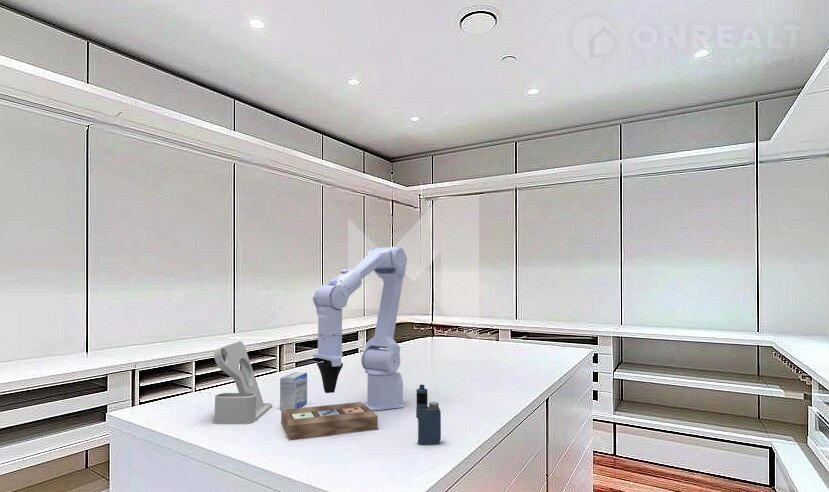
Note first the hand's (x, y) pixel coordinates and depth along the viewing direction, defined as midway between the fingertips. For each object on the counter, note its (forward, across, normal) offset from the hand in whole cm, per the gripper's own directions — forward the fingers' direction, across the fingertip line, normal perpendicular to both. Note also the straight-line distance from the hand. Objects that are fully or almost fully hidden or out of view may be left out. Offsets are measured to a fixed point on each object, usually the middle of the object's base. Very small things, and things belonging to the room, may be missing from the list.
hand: (329, 392), depth 113 cm
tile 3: (+7, +1, 0) cm, 7 cm away
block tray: (+8, +1, 0) cm, 8 cm away
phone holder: (+8, -18, -18) cm, 26 cm away
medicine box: (+8, -20, -5) cm, 22 cm away
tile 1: (+7, +1, -6) cm, 9 cm away
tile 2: (+7, +1, +6) cm, 9 cm away
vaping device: (+8, +21, +17) cm, 28 cm away
